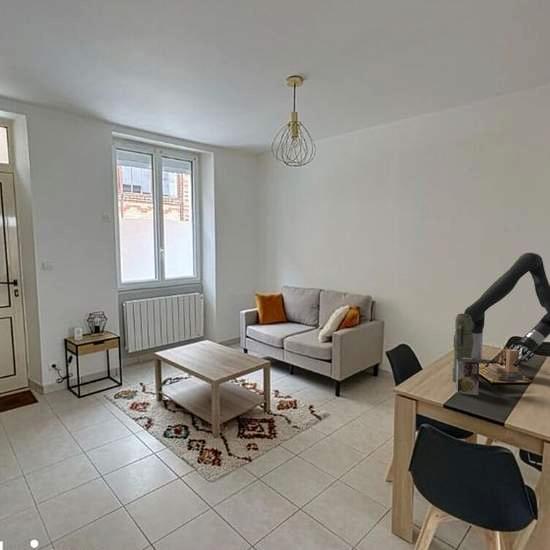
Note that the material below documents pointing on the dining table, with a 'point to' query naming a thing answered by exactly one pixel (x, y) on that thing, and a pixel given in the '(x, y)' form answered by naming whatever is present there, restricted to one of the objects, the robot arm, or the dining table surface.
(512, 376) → the rack
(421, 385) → the dining table surface
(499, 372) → the offcut pile
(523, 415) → the dining table surface
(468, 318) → the thermos
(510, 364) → the board
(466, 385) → the coffee box
